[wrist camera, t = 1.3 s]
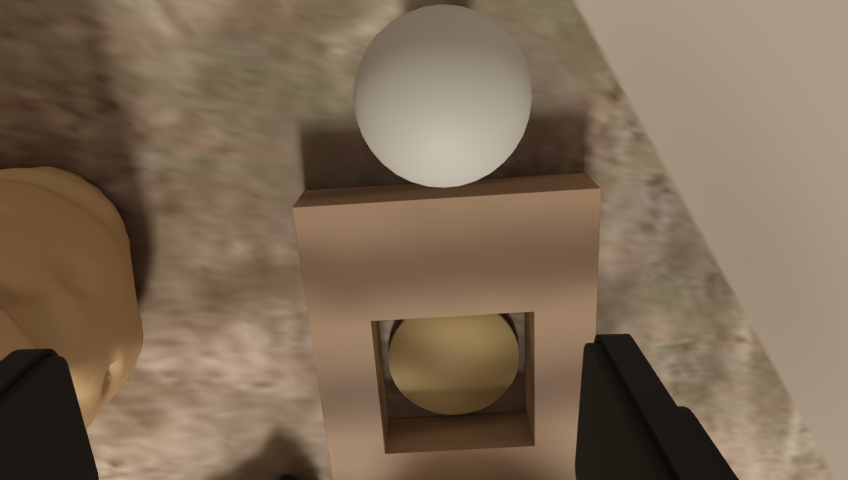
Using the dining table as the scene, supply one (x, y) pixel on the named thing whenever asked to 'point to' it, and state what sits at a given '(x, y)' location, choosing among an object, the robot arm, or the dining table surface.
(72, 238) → the container
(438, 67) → the lightbulb
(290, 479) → the hand tool
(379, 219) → the holder
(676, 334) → the dining table surface
